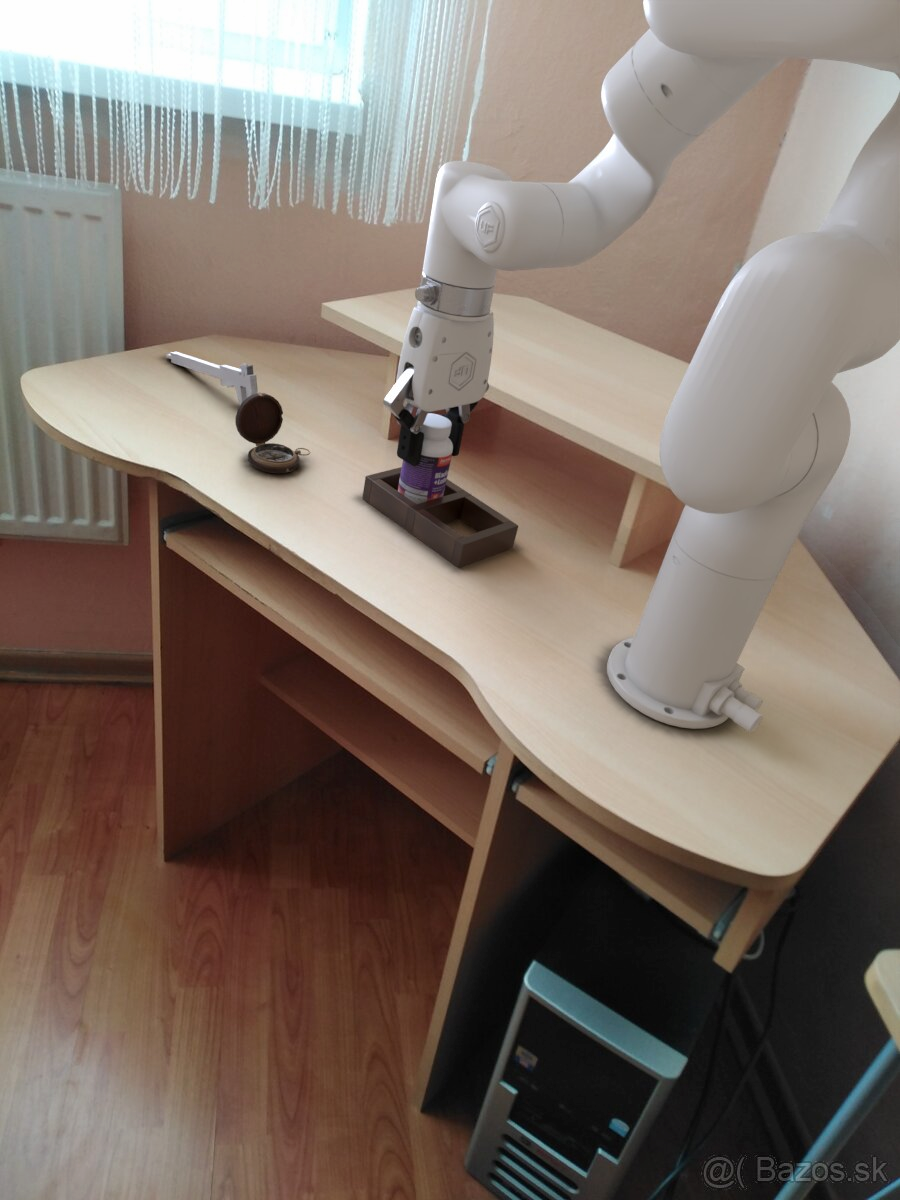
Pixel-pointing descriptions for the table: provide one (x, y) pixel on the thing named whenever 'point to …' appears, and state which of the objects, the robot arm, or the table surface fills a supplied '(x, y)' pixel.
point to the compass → (265, 434)
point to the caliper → (221, 373)
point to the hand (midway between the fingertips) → (428, 454)
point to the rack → (443, 519)
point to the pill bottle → (429, 462)
